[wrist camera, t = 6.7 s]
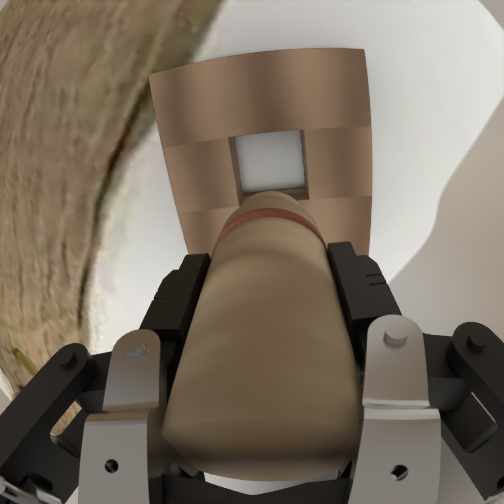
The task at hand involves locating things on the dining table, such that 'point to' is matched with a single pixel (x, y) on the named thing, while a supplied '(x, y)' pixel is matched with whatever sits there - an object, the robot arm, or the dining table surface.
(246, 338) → the peg
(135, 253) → the dining table surface
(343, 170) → the board
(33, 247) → the dining table surface
